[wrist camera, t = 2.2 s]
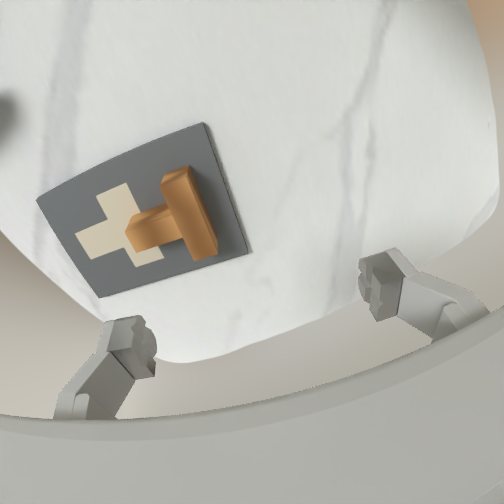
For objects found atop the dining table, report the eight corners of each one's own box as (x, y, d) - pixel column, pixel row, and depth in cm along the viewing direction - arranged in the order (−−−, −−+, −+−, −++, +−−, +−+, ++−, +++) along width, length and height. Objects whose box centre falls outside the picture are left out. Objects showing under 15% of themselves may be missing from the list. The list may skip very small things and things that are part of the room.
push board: (203, 122, 31) (202, 123, 30) (247, 249, 41) (248, 253, 40) (39, 196, 32) (35, 200, 31) (100, 294, 42) (99, 298, 42)
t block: (188, 164, 32) (186, 177, 29) (217, 235, 38) (218, 254, 35) (119, 191, 33) (110, 206, 30) (153, 256, 39) (149, 275, 35)
